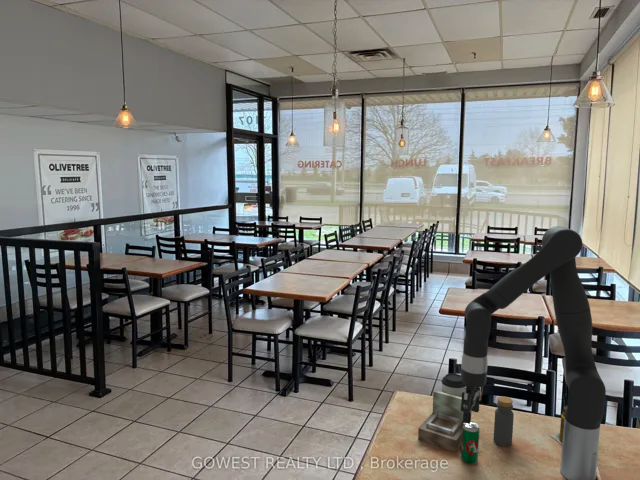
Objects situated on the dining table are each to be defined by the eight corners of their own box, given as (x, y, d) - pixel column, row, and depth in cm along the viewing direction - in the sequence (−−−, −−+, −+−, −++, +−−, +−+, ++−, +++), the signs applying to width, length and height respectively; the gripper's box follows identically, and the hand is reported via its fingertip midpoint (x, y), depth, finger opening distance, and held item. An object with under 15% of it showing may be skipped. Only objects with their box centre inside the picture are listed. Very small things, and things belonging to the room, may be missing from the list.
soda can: (464, 453, 152) (466, 418, 150) (480, 459, 149) (482, 424, 147) (458, 460, 148) (459, 425, 146) (474, 467, 145) (475, 430, 143)
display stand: (469, 432, 164) (470, 400, 163) (455, 451, 153) (457, 417, 151) (433, 421, 172) (434, 390, 170) (418, 439, 160) (419, 405, 159)
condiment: (568, 449, 154) (571, 415, 153) (549, 435, 162) (551, 403, 161) (586, 445, 157) (589, 411, 155) (566, 432, 165) (569, 400, 163)
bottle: (513, 447, 156) (516, 404, 153) (494, 445, 157) (497, 402, 155) (510, 437, 161) (512, 396, 159) (492, 435, 162) (494, 394, 160)
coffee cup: (439, 418, 174) (441, 379, 172) (440, 406, 182) (442, 369, 180) (465, 422, 171) (467, 383, 169) (465, 410, 180) (466, 372, 178)
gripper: (479, 378, 136) (476, 431, 139) (493, 362, 148) (489, 411, 150) (454, 372, 140) (451, 423, 143) (469, 357, 152) (466, 404, 154)
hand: (471, 416), depth 147 cm, fingers open, 8 cm apart
